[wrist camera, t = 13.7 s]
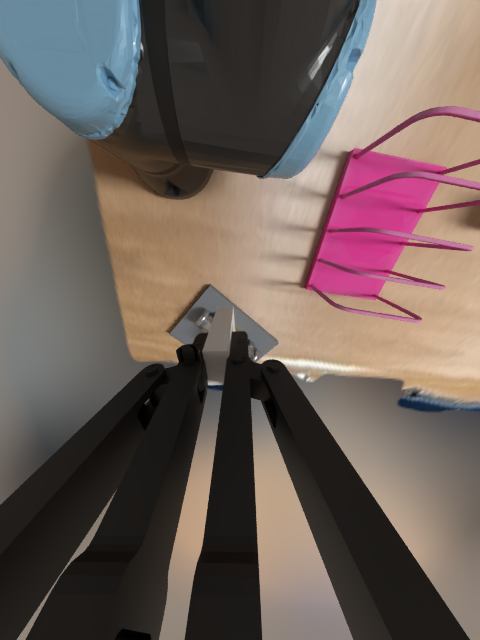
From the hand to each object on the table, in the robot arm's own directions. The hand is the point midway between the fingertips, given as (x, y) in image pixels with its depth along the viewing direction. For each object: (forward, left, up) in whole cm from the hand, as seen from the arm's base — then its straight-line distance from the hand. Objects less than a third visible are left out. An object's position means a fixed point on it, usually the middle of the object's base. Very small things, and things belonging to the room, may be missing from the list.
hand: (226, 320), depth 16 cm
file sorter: (+16, +23, -27) cm, 39 cm away
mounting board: (+10, -16, -26) cm, 32 cm away
